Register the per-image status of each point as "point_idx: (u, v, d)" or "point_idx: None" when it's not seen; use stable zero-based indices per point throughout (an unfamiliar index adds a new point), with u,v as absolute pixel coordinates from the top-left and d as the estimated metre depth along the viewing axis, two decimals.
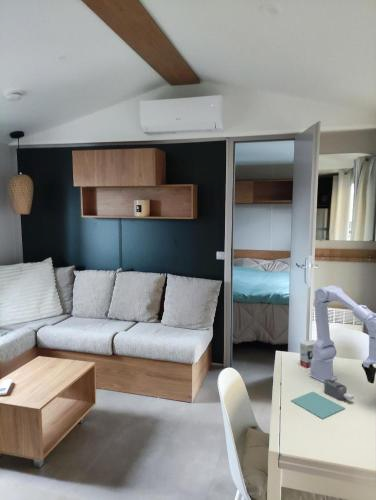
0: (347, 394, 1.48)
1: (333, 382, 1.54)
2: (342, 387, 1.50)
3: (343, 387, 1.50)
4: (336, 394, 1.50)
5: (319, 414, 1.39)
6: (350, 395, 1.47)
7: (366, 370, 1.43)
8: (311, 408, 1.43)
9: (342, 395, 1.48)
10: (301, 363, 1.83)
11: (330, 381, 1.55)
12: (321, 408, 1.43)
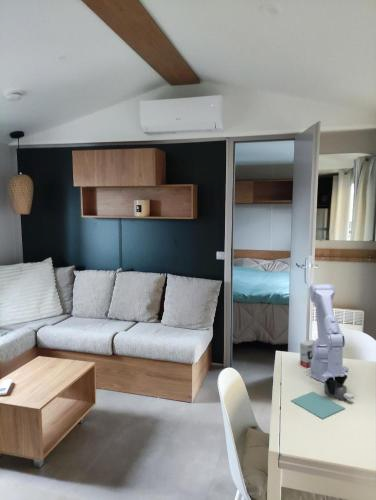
0: (347, 394, 1.48)
1: None
2: (342, 387, 1.50)
3: (343, 387, 1.50)
4: (336, 394, 1.50)
5: (319, 414, 1.39)
6: (350, 395, 1.47)
7: (327, 382, 1.52)
8: (311, 408, 1.43)
9: (342, 395, 1.48)
10: (301, 363, 1.83)
11: None
12: (321, 408, 1.43)
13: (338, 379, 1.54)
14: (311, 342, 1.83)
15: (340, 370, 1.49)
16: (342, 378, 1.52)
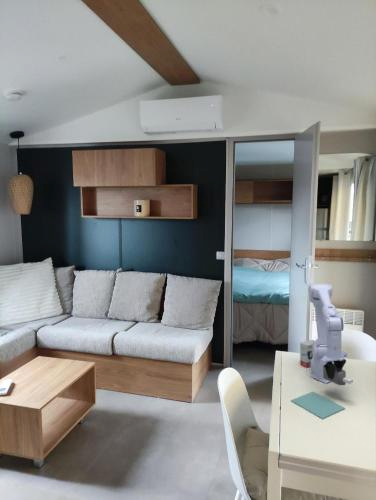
0: (346, 378, 1.46)
1: None
2: (341, 371, 1.48)
3: (342, 371, 1.48)
4: (335, 378, 1.49)
5: (319, 414, 1.39)
6: (349, 379, 1.46)
7: (326, 367, 1.51)
8: (311, 408, 1.43)
9: (341, 379, 1.47)
10: (301, 363, 1.83)
11: None
12: (321, 408, 1.43)
13: (337, 364, 1.52)
14: (311, 342, 1.83)
15: (339, 354, 1.48)
16: (341, 362, 1.51)
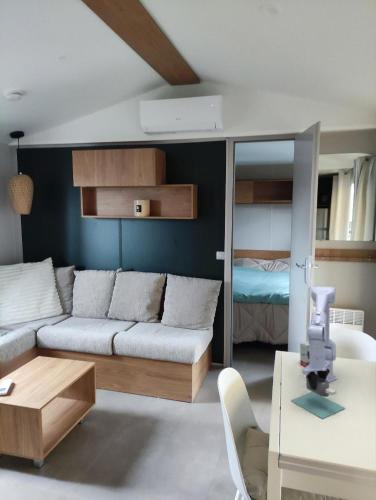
0: (329, 389, 1.40)
1: None
2: (324, 382, 1.42)
3: (325, 382, 1.42)
4: (318, 389, 1.43)
5: (319, 414, 1.39)
6: (332, 390, 1.39)
7: (309, 377, 1.45)
8: (311, 408, 1.43)
9: (324, 390, 1.41)
10: (301, 363, 1.83)
11: None
12: (321, 408, 1.43)
13: (320, 374, 1.46)
14: None
15: (322, 364, 1.42)
16: (324, 372, 1.44)
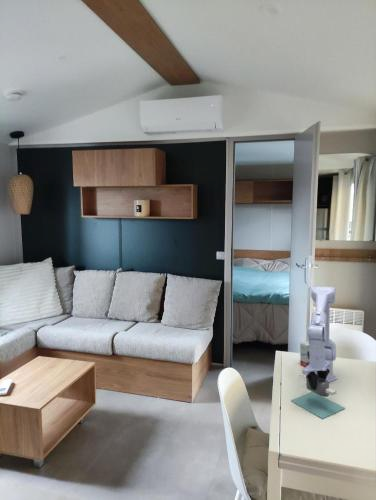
0: (329, 389, 1.40)
1: None
2: (324, 382, 1.42)
3: (325, 382, 1.42)
4: (318, 389, 1.43)
5: (319, 414, 1.39)
6: (332, 390, 1.39)
7: (309, 377, 1.45)
8: (311, 408, 1.43)
9: (324, 390, 1.41)
10: (301, 363, 1.83)
11: None
12: (321, 408, 1.43)
13: (320, 374, 1.46)
14: None
15: (322, 364, 1.42)
16: (324, 372, 1.44)
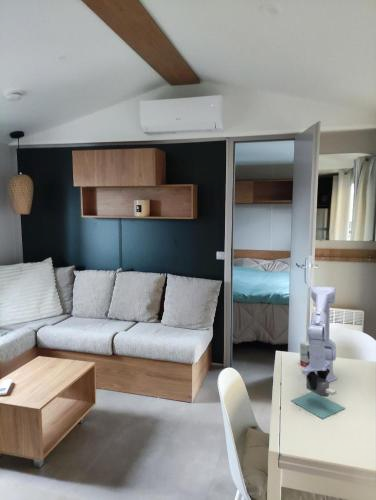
0: (329, 389, 1.40)
1: None
2: (324, 382, 1.42)
3: (325, 382, 1.42)
4: (318, 389, 1.43)
5: (319, 414, 1.39)
6: (332, 390, 1.39)
7: (309, 377, 1.45)
8: (311, 408, 1.43)
9: (324, 390, 1.41)
10: (301, 363, 1.83)
11: None
12: (321, 408, 1.43)
13: (320, 374, 1.46)
14: None
15: (322, 364, 1.42)
16: (324, 372, 1.44)
